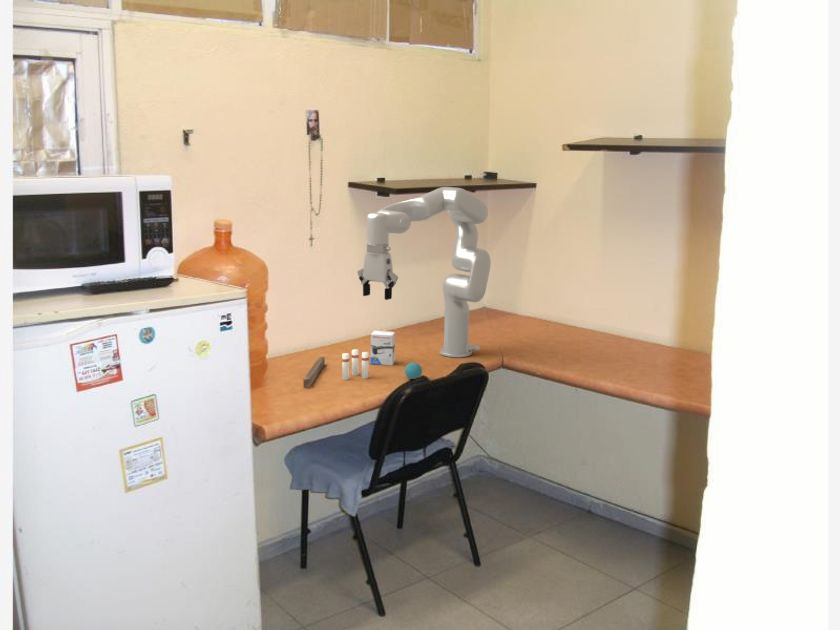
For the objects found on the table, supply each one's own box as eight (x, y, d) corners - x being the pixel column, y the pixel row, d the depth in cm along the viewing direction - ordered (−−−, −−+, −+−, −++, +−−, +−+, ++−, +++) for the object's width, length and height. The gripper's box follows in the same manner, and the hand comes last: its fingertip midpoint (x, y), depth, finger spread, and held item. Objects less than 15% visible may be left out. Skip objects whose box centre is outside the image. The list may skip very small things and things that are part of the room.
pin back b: (349, 378, 280) (349, 353, 278) (348, 380, 278) (348, 355, 276) (342, 377, 281) (342, 353, 279) (341, 379, 278) (341, 354, 276)
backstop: (324, 364, 296) (324, 356, 295) (309, 387, 269) (309, 379, 268) (319, 364, 296) (319, 356, 295) (303, 387, 269) (303, 379, 268)
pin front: (369, 376, 283) (369, 352, 281) (368, 378, 280) (368, 354, 278) (362, 376, 283) (362, 351, 281) (361, 378, 280) (361, 353, 278)
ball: (422, 377, 283) (422, 360, 282) (421, 382, 277) (421, 365, 276) (405, 376, 283) (405, 360, 282) (404, 381, 278) (404, 365, 276)
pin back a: (359, 373, 286) (359, 349, 284) (358, 375, 283) (358, 351, 281) (352, 373, 286) (352, 349, 284) (351, 375, 283) (351, 351, 281)
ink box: (370, 364, 298) (370, 333, 295) (372, 360, 303) (372, 330, 300) (392, 365, 297) (392, 334, 294) (394, 362, 301) (395, 331, 299)
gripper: (404, 250, 274) (403, 299, 278) (365, 245, 284) (365, 292, 288) (390, 252, 268) (389, 302, 272) (351, 247, 278) (351, 295, 282)
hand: (377, 297), depth 280 cm, fingers open, 9 cm apart
